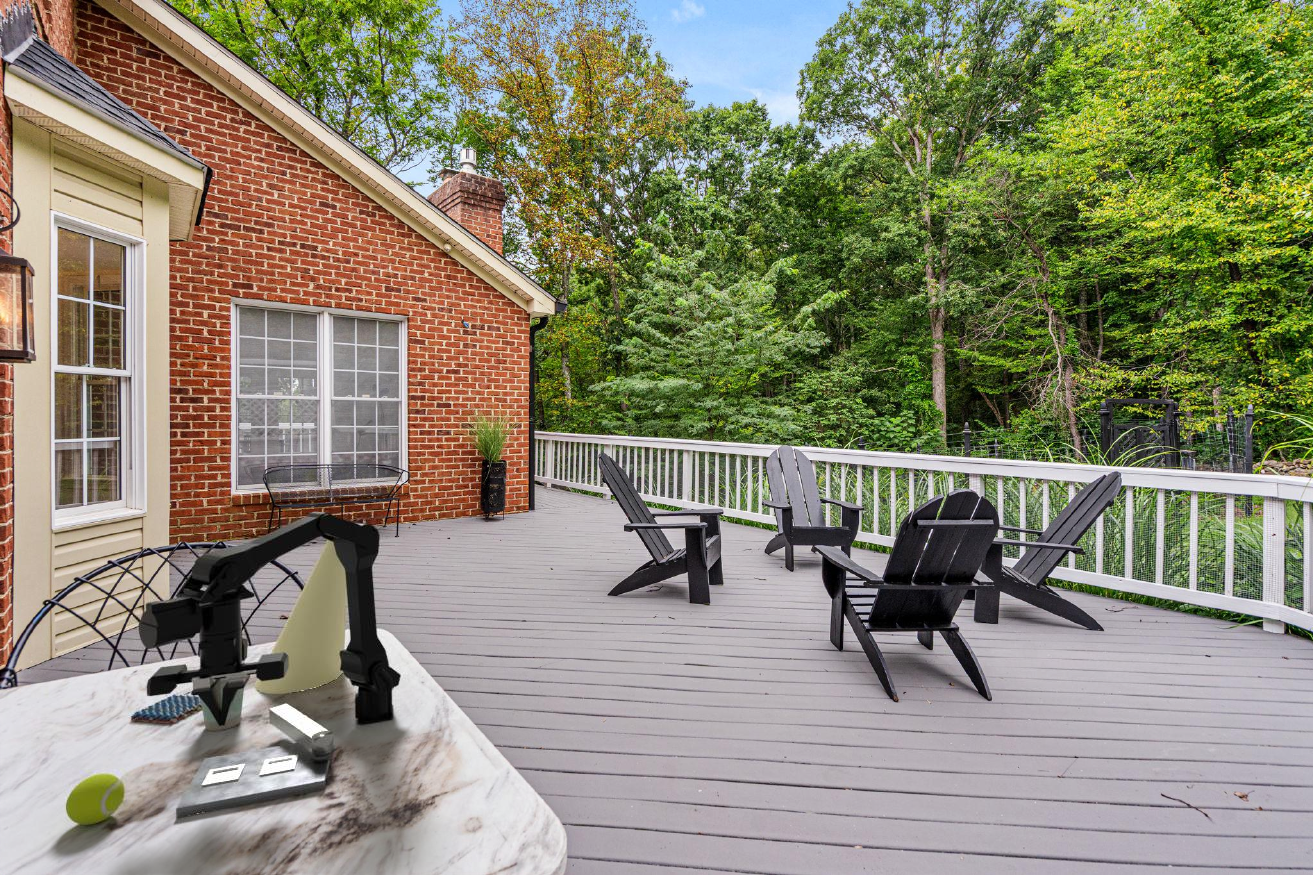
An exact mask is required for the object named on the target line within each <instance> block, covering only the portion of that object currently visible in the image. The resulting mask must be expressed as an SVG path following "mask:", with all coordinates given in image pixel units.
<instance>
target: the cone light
mask: <svg viewBox="0 0 1313 875" xmlns="http://www.w3.org/2000/svg"><path fill="white" fill-rule="evenodd" d="M347 604H348V601H347V588H346V575H345V569H344V567H343V565H342V564H341V562H340V560H339V559H338V557H337V555H336V551H335V547H334V543H333V542H332V541H329V540H327V539H326V543H325V545H324V547H323V549H322V552H320V554H319V557H318V559H317V561H316V563H315V565H314V567H313V569H312V571H311V573H310V574H309V577H308V579H307V581H306V583H305V585H304V587H303V589H302V591H301V592H300V595H299V597H298V599H297V601H296V603H295V605H294V607H293V609H292V611H291V613H290V614H289V616H288V619H287V621H286V622H285V625H284V626H283V629H282V630H281V632H280V634H279V636H278V639H277V641H276V642H275V644H274V646H273V648H272V650H271V652H270V654H274V653H282V652H285V653H286V654H287V655H288V657H289V667H288V670H287V672H286V674H285V676H284V677H283V678H281V679H275V680H268V681H261V680H259V679H258V678H257V680H256V682H255V684H254V689H255V688H256V689H255V690H256V691H257V690H259V691H258V692H259V693H262V692H263V693H262V694H268V695H287V694H288V693H289V694H292V693H291V692H297V693H299V692H298V691H301V690H307V689H310V688H314V687H317V686H320V685H324V684H326V683H329V682H331V681H333V680H335V679H336V678H338V677H339V676H340V675H341V674H342V672H343V671H341V670H340V667H341V659H340V655H339V654H340V651H341V650H345V644H346V643H345V642H346V625H347V624H346V620H347V618H346V616H347ZM343 673H344V672H343ZM342 675H343V674H342ZM340 677H341V676H340ZM340 677H339V678H340ZM339 678H338V679H339ZM335 681H336V680H335ZM333 682H334V681H333ZM331 683H332V682H331ZM329 684H330V683H329ZM324 686H325V685H324ZM307 691H308V690H307ZM286 693H287V694H286Z"/></svg>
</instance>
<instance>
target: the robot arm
mask: <svg viewBox="0 0 1313 875" xmlns="http://www.w3.org/2000/svg"><path fill="white" fill-rule="evenodd" d="M317 538H322V539H325V540H326V541H327V540H329V541H332V542H333V543H334V547H335V551H336V555H337V557H338V559H339V560H340V562H341V564H342V565H343V567H344V569H345V575H346V588H347V613H348V623H349V624H348V625H349V638H350V640H349V641H348V642H349V643H348V644H347V646H346V649H344V650H341V651H340V654H339V655H340V659H341V667H340V670H341V671H343V675H344V677H345V678H347V679H348V680H349V681H350V684H351V686H353V687H358V688H357V692H356V693H355V694H354V695H355V696H354V717H355V719H357V725H363V724H369V723H377V722H382V721H390V720H392V719H393V718H394V704H393V690H394V688H396V687H398V686H399V684H400V681H401V676H402V675H401V674H400V673H399V672H398V671H397V670H395V669H393V667H392V666H390V664H389V659H388V655H387V650H386V648H385V646H384V645H383V643H382V642H381V640H380V638H379V637H378V628H377V616H376V614H377V613H376V602H375V588H374V574H373V565H374V563H375V562H376V559H377V557H378V555H379V552H380V551H379V550H380V539H381V537H380V531H379V529H378V528H376V526H374V525H373V524H370V523H362V522H361V523H360V522H353V521H349V520H347V519H343V518H340V517H338V516H335V515H333V514H332V513H330V512H322V511H320V512H319V511H312V512H310V513H308V514H307V515H306V516H304V517H302V518H300V519H297V520H296V521H294V522H291V523H289V524H287V525H285V526H282V527H280V528H278V529H275V530H274V531H272V532H270V533H268V534H265V535H263V536H261V537H259V538H256V539H254V540H252V541H250V542H248V543H244V544H240V545H235V546H234V545H233V546H229V547H225V548H221V549H216V550H213V551H210V552H207V553H204V554H202V555H201V556H199V557H197V559H196V560H195V561H194V564H193V565H192V569H191V573H190V575H189V576H188V577H187V579H186V580H185V581H184V583H183V584H182V586H181V587H180V589H179V590H178V592H177V593H176V595H175V597H176V598H170V599H165V600H153V601H150V602H146V604H145V610H144V612H143V613H142V614H141V617H140V621H139V623H138V633H139V634H138V635H139V638H140V641H141V643H142V645H143V646H144V648H146V649H148V650H152V649H155V648H160V647H163V646H168V645H170V644H171V645H172V644H175V643H180V642H182V641H186V640H190V639H194V637H195V636H196V635H197V634H198V635H199V642H198V647H197V648H198V649H197V656H198V658H199V668H200V669H199V668H198V669H191V670H188V667H187V664H186V663H185V664H177V665H169V666H161V667H160V668H159V669H158V670H157V671H155V672H154V673H153V675H151V677H150V678H149V679H148V680H147V683H146V696H147V697H155V696H162V695H163V696H164V695H171V693H172V692H173V691H175V689H176V688H177V687H178V685H183V684H189V683H192V690H191V692H190V695H191V696H197V697H200V698H201V700H202V701H203V702H204V703H205V704H206V706H207V707H208V708H209V710H210V711H211V713H212V715H213V717H214V718H215V720H216V722H217V723H218V725H219V726H224V725H225V724H226V722H227V719H228V716H229V713H230V710H231V707H232V704H233V701H234V698H235V695H236V693H237V691H238V689H243V688H244V689H245V688H246V685H247V683H249V681H250V679H251V676H252V675H256V676H255V677H256V679H257V680H258V679H259V680H261V681H268V680H275V679H281V678H283V677H284V676H285V674H286V672H287V670H288V667H289V657H288V655H287V654H286V653H285V652H282V653H274V654H271V653H267V654H262V655H261V656H260V657H259V660H258V661H255V662H254V661H253V662H247V663H246V662H245V660H246V659H247V658H248V643H249V639H248V638H245V637H243V632H242V611H241V610H242V608H241V607H242V606H241V605H242V604H241V603H242V602H241V601H242V600H247V599H251V598H254V597H255V592H253V591H251V590H249V589H248V588H247V587H246V586H245V585H244V583H246V582H247V581H249V580H250V579H251V578H252V577H254V576H255V575H256V574H257V573H258V571H259V570H260V568H262V567H263V566H265V565H266V564H267V563H268V564H269V563H270V562H271V561H274V560H276V559H278V558H280V557H282V556H284V555H286V554H288V553H290V552H291V551H294V550H296V549H298V548H300V547H302V546H304V545H306V544H308V543H310V542H312V541H314V540H316V539H317ZM202 588H206V590H203V589H202ZM242 661H244V662H245V664H242ZM222 678H226V681H228V682H227V683H226V685H225V686H224V688H223V693H222V698H221V690H220V687H221V679H222Z"/></svg>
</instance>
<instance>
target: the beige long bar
mask: <svg viewBox="0 0 1313 875" xmlns="http://www.w3.org/2000/svg"><path fill="white" fill-rule="evenodd" d="M268 711H269V712H268V715H269V721H268V722H269V724H270V725H272V726H273V727H275V728H276V729H277V730H279V731H280V732H281V733H283V734H284V735H286V736H287V737H288V738H290V740H293V741H294V743H298V744H300V745H301V746H302V747H304V748H305V749H307V750H308V751H309V752H311V753H312V754H313V755H316V756H319V755H325V754H327V753H329V752H331V751H332V750H334V749H333V748H334V737H333V731H332V730H328V729H327V728H326V727H323V726H322V725H321V724H319V723H318V722H315V721H314V720H313V719H311V718H310V717H308V716H307V715H305V714H303V713H302V712H300V711H298V709H296V708H295V707H292V706H291V705H289V704H288V703H284V704H280V705H276V706H274V707H271V708H268Z"/></svg>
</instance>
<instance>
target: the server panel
mask: <svg viewBox="0 0 1313 875" xmlns="http://www.w3.org/2000/svg"><path fill="white" fill-rule="evenodd" d="M333 750H334V749H333ZM333 750H332V751H331V752H329V753H327V754H325V755H319V756H316V755H313V754H312V753H311V752H309V751H308V750H307V749H305V748H304V747H302V746H301V745H300V744H298V743H297V742H294V743H289V744H282V745H279V746H278V745H276V746H271V747H266V748H259V749H254V750H253V749H252V750H247V751H242V752H236V753H229V754H224V755H218V756H212V757H205V758H204V759H203V761H202V762H201V764H200V766H199V768H198V770H197V771H196V773H195V775H194V776H193V778H192V780H191V782H190V784H188V787H187V788H186V791H185V793H184V794H183V795H182V798H181V799H180V801H179V803H178V804H177V806H176V807H175V814H176V815H175V818H176V819H179V817H181V818H186V817H189V816H188V815H191V816H194V815H193V814H196V815H198V814H197V813H201V814H203V813H202V812H207V813H210V811H212V812H214V811H213V810H217V811H220V810H219V809H222V810H224V809H223V808H227V809H230V808H236V807H241V806H248V805H252V804H256V803H263V802H267V801H273V800H277V799H283V798H288V797H292V796H297V795H298V796H299V795H303V794H308V793H314V792H319V791H323V790H325V789H326V786H327V785H326V784H327V778H328V775H329V768H330V764H331V763H330V762H331V759H333V756H334V752H333Z"/></svg>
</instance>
